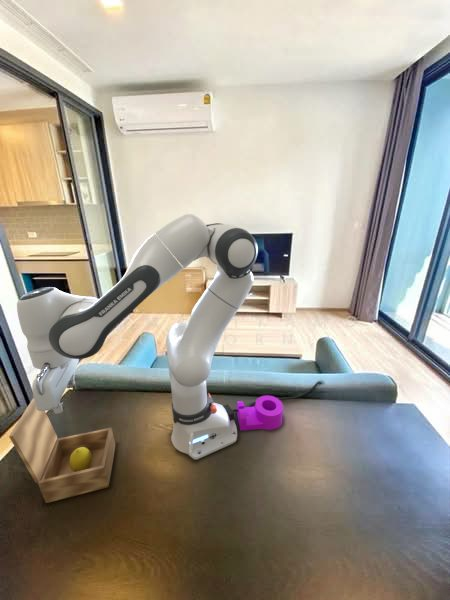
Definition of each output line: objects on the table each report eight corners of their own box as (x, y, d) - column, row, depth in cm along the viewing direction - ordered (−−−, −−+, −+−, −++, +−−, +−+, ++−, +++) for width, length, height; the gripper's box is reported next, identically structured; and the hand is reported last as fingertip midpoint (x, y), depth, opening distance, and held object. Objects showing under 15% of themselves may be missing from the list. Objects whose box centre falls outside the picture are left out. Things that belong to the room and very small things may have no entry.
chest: (115, 445, 82) (111, 427, 80) (108, 487, 70) (103, 467, 67) (62, 457, 79) (56, 438, 76) (45, 503, 66) (37, 483, 64)
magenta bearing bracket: (277, 407, 97) (278, 394, 95) (285, 428, 88) (286, 414, 86) (236, 410, 96) (236, 397, 93) (240, 432, 86) (240, 418, 84)
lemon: (85, 480, 71) (79, 460, 68) (68, 476, 72) (61, 457, 69) (98, 462, 76) (93, 443, 73) (82, 458, 77) (76, 439, 74)
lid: (37, 395, 70) (34, 395, 70) (12, 435, 57) (8, 436, 57) (57, 437, 76) (54, 438, 76) (39, 481, 63) (35, 482, 63)
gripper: (52, 377, 52) (66, 426, 57) (78, 332, 71) (88, 373, 76) (17, 382, 51) (35, 432, 56) (53, 335, 69) (64, 376, 74)
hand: (65, 398), depth 66 cm, fingers open, 8 cm apart
